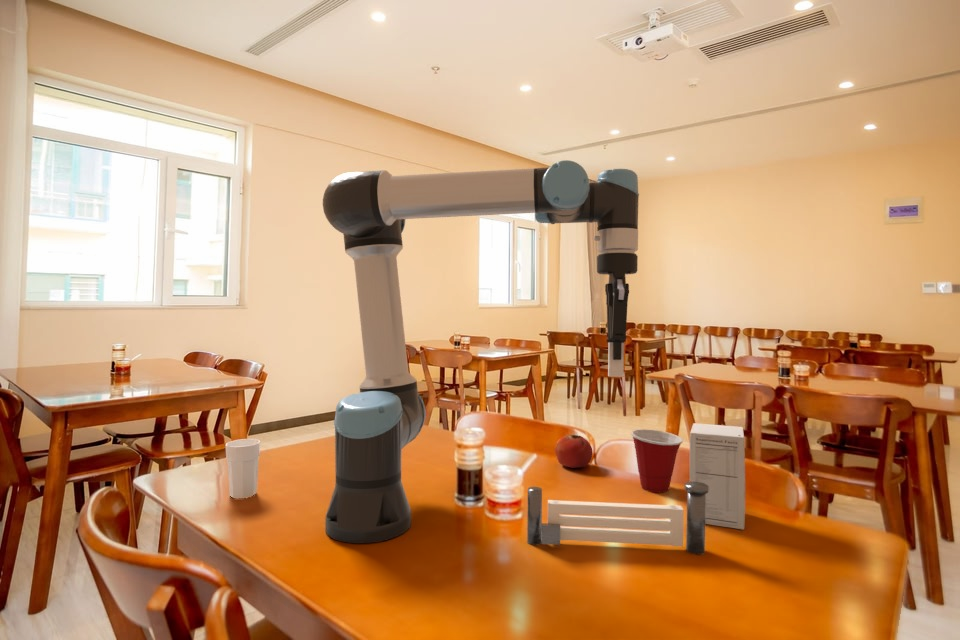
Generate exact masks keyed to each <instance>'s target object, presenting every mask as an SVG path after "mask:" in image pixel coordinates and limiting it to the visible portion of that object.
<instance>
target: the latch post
mask: <svg viewBox="0 0 960 640" xmlns="http://www.w3.org/2000/svg"><path fill="white" fill-rule="evenodd" d="M542 513H543V489H542V488H541V487H539V486H530V487H527V513H526V515H527V517H526V518H527V522H526V523H527V527H526V529H527V530H526V531H527V533H526V534H527V537H526V539H527V540H526V541H527V544H529V545H532V546H539V545H541V544H542V545H557V546H560V545H561V540H560V524H548V522H546V523H545V522H543V521H542V520H543V514H542Z"/></svg>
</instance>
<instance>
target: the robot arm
mask: <svg viewBox="0 0 960 640" xmlns="http://www.w3.org/2000/svg"><path fill="white" fill-rule="evenodd" d="M638 178H639V177H638V175H637V173H636V172H635V171H634V170H632V169H628V168H613V169H607V170H603V171H601V172H599V174H598V176H597V179H596V181H595V182H594V181H593V182H590V179H589V176H588V173H587V171H586V170H585V168H584V167H583V166H582V165H581V164H579V163H578V162H576V161H573V160H567V159H566V160H565V159H564V160H560V161H557V162H555V163H553V164H552V165H551V166H548V167H537V168H535V167H533V168H518V169H517V168H516V169H503V170H502V169H499V170H481V171H462V172H461V171H460V172H443V173H441V172H440V173H427V174H425V173H424V174H423V173H422V174H421V173H420V174H405V175H392V174H391V173H390V172H389V171H388V170H369V171H368V170H365V171H350V172H344V173H342V174H340V175H337V176H336V177H335V178H334V179H332V180H331V181H330V183H329V184H328V185H327V187H326V188H325V190H324V194H323V198H322V208H323V213H324V216H325V218H326V219H327V222H328V223H329V224H330V225H331V226H332V227H333V229H335V230H336V231H338V232H339V233H341V234H343V240H344V241H343V242H344V251H345V254H347V255H348V256H349V258H351V259H352V260H353V264H354V272H355V273H354V274H355V281H356V282H355V284H356V291H357V301H358V302H357V303H358V311H359V312H358V313H359V319H360V320H359V322H360V331H361V339H362V349H363V350H362V351H363V358H364V367H365V368H364V369H365V378H364V380H363V381H362V382H361V383H360V385H359V393H353V394H349V395H347V396H344V397H343V398H341V399H340V400H339V402H338V403H337V404H336V408H335V415H334V416H335V417H334V420H333V424H334V437H335V438H334V443H335V444H334V454H335V455H334V456H335V458H334V459H335V465H334V466H335V467H334V468H335V486H334V489H333V492H332V495H331V498H330V501H329V504H328V508H327V511H326V514H325V518H324V519H325V521H324V523H325V524H324V525H325V527H324V529H325V533H326V534H327V535H328V536H329V537H330V538H332V539H333V540H336V541H339V542H344V543H347V544H348V543H349V544H351V543H352V544H371V543H378V542H383V541H387V540H391V539H395V538H397V537H398V536H401V535H402V534H404V533H406V532H407V531H408V530H409V528H410V527H411V525H412V513H411V512H412V510H411V507H410V503H409V500H408V497H407V494H406V491H405V489H404V486H403V482H402V450H403V449H404V448H405V447H406V446H407V445H408V444H410V443H411V442H412V441H414V440H415V439H416V438H417V436H418V435H419V434H420V432H421V431H422V429H423V426H424V424H425V421H426V415H427V414H426V413H427V412H426V406H425V403H424V400H423V399H422V397H421V395H420V394H419V391H418V383H417V378H416V377H415V376H413V375H412V374H411V373H410V371H409V366H408V365H409V364H408V357H407V356H408V355H407V348H406V347H407V345H406V337H405V329H404V328H405V327H404V318H403V309H402V308H403V307H402V299H401V290H400V289H401V288H400V280H399V272H398V271H399V269H398V261H397V256H398V255H399V254H400V252H401V251H402V250H403V248H404V245H403V237H402V236H403V235H402V233H403V232H404V229H405V225H406V220H413V219H433V218H451V217H452V218H455V217H457V218H458V217H473V216H475V217H476V216H477V217H478V216H495V215H497V216H498V215H512V214H513V215H518V214H534V216H535V218H534V219H535V221H536V222H537V223H539V224H550V225H555V224H571V223H572V224H576V223H577V224H579V223H580V224H582V223H591V224H592V223H597V224H596V225H597V229H596V230H597V235H594V237H593V238H594V239H593V240H594V241H596V242H597V252H598V253H599V254H598V255H597V256H596V272H597V274H598V275H609V276H608V283H605V285H604V289H605V290H604V292H605V296H606V297H605V298H606V299H605V301H606V303H605V304H606V325H607V326H606V331H607V332H606V339H605V341H606V343H608V345H607V346H608V351H607V352H608V353H607V354H608V356H607V357H608V359H607V361H608V362H607V365H608V366H607V376H608V377H609V378H610V377H611V378H623V377H624V373H625V372H624V370H625V369H624V367H625V365H624V364H625V361H624V358H625V357H624V356H625V343H626V342H627V324H628V323H627V321H628V317H627V316H628V303H629V294H630V284H629V283H627V281H626V275H635V274H637V273H638V255H637V253H636V252H637V251H638V250H639V227H638V226H639V197H640V196H639V195H640V193H639V182H638V181H639V179H638Z"/></svg>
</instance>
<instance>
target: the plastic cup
mask: <svg viewBox="0 0 960 640" xmlns="http://www.w3.org/2000/svg"><path fill="white" fill-rule="evenodd" d="M630 433H631V436H632V440H633V445H634V449H635V450H634V451H635V457H636V463H637V471H638V475H639V481H640V485H641V488H642V489H643V490H644V491H646V492H651V493H656V494H657V493H666V492H668V491H669V489H670V486H671V482H672V477H673V473H674V468H675V464H676V459H677V455H678V451H679V448H680V446H681V444H683V442H684V441H683V440H684V439H683V438H682V437H681V436H679V435H676V434H674V433H671V432H667V431H662V430H657V429H649V428H646V429H644V428H642V429H641V428H640V429H634V430H631V432H630Z"/></svg>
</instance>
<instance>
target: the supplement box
mask: <svg viewBox="0 0 960 640" xmlns="http://www.w3.org/2000/svg"><path fill="white" fill-rule="evenodd" d="M689 482H701V483H704V484H706V485H708V486H709V488H708V493H706V507H705V525H711V526H718V527H724V528H730V529H737V530H745V520H746V519H745V517H746V455H745V435H744V427H743V426H737V425H734V426H733V425H724V424H723V425H722V424H721V425H720V424H708V423H707V424H706V423H696V422H695V423H694V422H693V423H692V426H691V430H690V433H689Z"/></svg>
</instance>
